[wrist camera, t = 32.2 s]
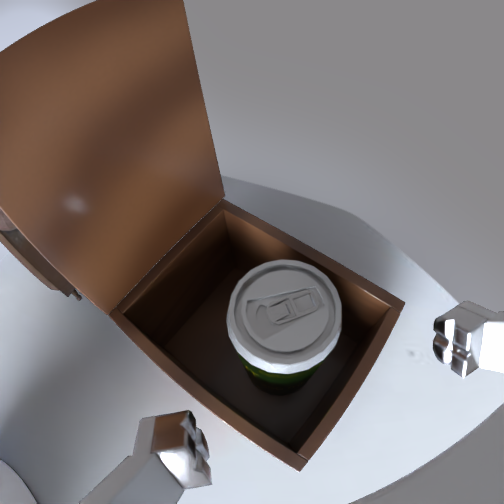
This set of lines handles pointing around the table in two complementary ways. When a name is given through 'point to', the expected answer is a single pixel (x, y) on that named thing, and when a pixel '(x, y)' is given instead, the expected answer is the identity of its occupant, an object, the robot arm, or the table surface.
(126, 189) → the lid
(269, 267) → the beer can
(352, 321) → the chest
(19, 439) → the table surface
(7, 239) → the alarm clock
